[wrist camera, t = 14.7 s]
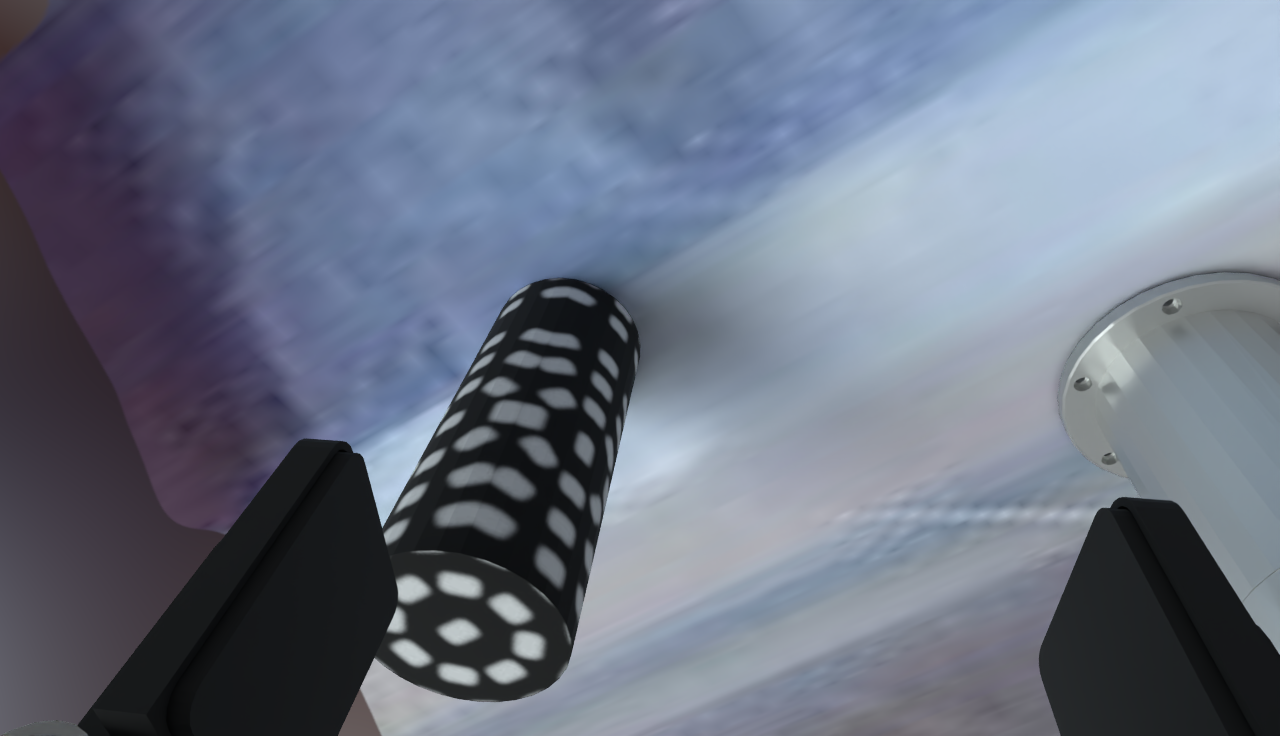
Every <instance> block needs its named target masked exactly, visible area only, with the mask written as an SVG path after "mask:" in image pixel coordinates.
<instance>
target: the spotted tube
mask: <svg viewBox="0 0 1280 736" xmlns="http://www.w3.org/2000/svg"><path fill="white" fill-rule="evenodd" d="M639 358H640V341H639V335H638V331H637V329H636V327H635V324H634V322H633V320H632V318H631V317H630V315H629V314H628V312H627V311H626V309H625V308H624V307H623V306H622V305H621V304H620V303H619V302H618V301H617V300H616V299H615V298H613V297H612V296H611V295H609V294H608V293H606V292H605V291H603V290H602V289H600V288H597V287H595V286H593V285H591V284H589V283H585V282H581V281H578V280H573V279H563V278H557V279H545V280H542V281H538V282H535V283H531V284H530V285H528V286H526V287H524V288H522V289H520V290H519V291H518V292H517V293H515V294H514V295H513V296H512V297H511V298H510V299H509V300H508V302H507V303H506V304H505V306H504V307H503V309H502V310H501V312H500V314H499V316H498V318H497V320H496V321H495V323H494V325H493V327H492V329H491V331H490V332H489V334H488V336H487V338H486V340H485V342H484V343H483V345H482V347H481V349H480V351H479V352H478V354H477V356H476V358H475V360H474V362H473V363H472V365H471V367H470V369H469V371H468V373H467V374H466V376H465V378H464V380H463V382H462V384H461V385H460V387H459V389H458V391H457V393H456V395H455V396H454V398H453V400H452V402H451V404H450V406H449V407H448V409H447V411H446V413H445V415H444V417H443V418H442V420H441V422H440V424H439V426H438V427H437V429H436V431H435V433H434V435H433V437H432V438H431V440H430V442H429V444H428V446H427V448H426V449H425V451H424V453H423V455H422V457H421V459H420V460H419V462H418V464H417V466H416V468H415V470H414V471H413V473H412V475H411V477H410V479H409V481H408V482H407V484H406V486H405V488H404V490H403V492H402V493H401V495H400V497H399V499H398V501H397V502H396V504H395V506H394V508H393V510H392V512H391V513H390V515H389V517H388V519H387V521H386V523H385V524H384V526H383V528H382V530H383V534H384V537H385V541H386V545H387V549H388V553H389V556H390V560H391V564H392V568H393V572H394V575H395V579H396V583H397V587H398V603H397V608H396V612H395V614H394V617H393V619H392V621H391V623H390V625H389V627H388V630H387V632H386V634H385V636H384V638H383V640H382V642H381V644H380V647H379V649H378V651H377V653H376V655H375V657H374V658H375V659H377V660H378V661H379V662H380V663H381V664H382V665H383V666H385V667H386V668H388V669H389V670H391V671H392V672H393V673H395V674H396V675H398V676H399V677H401V678H403V679H405V680H407V681H409V682H411V683H413V684H415V685H417V686H419V687H421V688H424V689H427V690H429V691H432V692H435V693H437V694H441V695H445V696H449V697H453V698H457V699H463V700H470V701H477V702H502V701H510V700H517V699H521V698H525V697H528V696H532V695H535V694H537V693H539V692H541V691H543V690H545V689H547V688H548V687H550V686H551V685H552V684H553V683H554V682H556V681H557V680H558V679H559V678H560V677H561V675H562V674H563V673H564V671H565V670H566V668H567V666H568V663H569V660H570V657H571V653H572V649H573V645H574V640H575V636H576V632H577V627H578V623H579V619H580V614H581V610H582V606H583V601H584V597H585V593H586V588H587V584H588V580H589V575H590V571H591V566H592V562H593V558H594V553H595V549H596V545H597V540H598V536H599V532H600V527H601V523H602V519H603V514H604V510H605V506H606V501H607V497H608V493H609V488H610V484H611V479H612V475H613V471H614V466H615V462H616V458H617V453H618V449H619V445H620V440H621V436H622V432H623V427H624V423H625V419H626V414H627V410H628V405H629V401H630V397H631V392H632V388H633V384H634V379H635V375H636V371H637V366H638V362H639Z"/></svg>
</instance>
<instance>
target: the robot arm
mask: <svg viewBox="0 0 1280 736" xmlns="http://www.w3.org/2000/svg"><path fill="white" fill-rule="evenodd" d="M1057 399H1058V409H1059V415H1060V418H1061V421H1062V423H1063V426H1064V428H1065V431H1066V432H1067V434H1068V436H1069V437H1070V439H1071V441H1072V443H1073V444H1074V446H1075V447H1076V448H1077V449H1078V450H1079V451H1080V452H1081V453H1082V455H1083V456H1084V457H1085V458H1086V459H1088V460H1089V461H1090V462H1092V463H1093V464H1095V465H1096V466H1098V467H1099V468H1101V469H1103V470H1106V471H1108V472H1111V473H1113V474H1116V475H1118V476H1120V477H1125V478H1129V479H1130V481H1131V483H1132V484H1133V486H1134V488H1135V490H1136V491H1137V493H1138V495H1139V496H1140V498H1129V497H1121V498H1118V499H1117V500H1115V501H1114V502H1113V504H1112V506H1111V508H1101V509H1100V510H1099V511H1098V512H1097V514H1096V515H1095V518H1094V520H1093V522H1092V525H1091V527H1090V530H1089V532H1088V534H1087V537H1086V539H1085V542H1084V544H1083V546H1082V549H1081V551H1080V554H1079V556H1078V559H1077V561H1076V563H1075V566H1074V568H1073V571H1072V573H1071V575H1070V578H1069V580H1068V583H1067V585H1066V587H1065V590H1064V592H1063V595H1062V597H1061V600H1060V602H1059V604H1058V607H1057V609H1056V612H1055V614H1054V616H1053V619H1052V621H1051V624H1050V626H1049V628H1048V631H1047V633H1046V636H1045V638H1044V640H1043V643H1042V645H1041V649H1040V654H1039V668H1040V674H1041V678H1042V681H1043V684H1044V687H1045V690H1046V693H1047V696H1048V699H1049V702H1050V705H1051V708H1052V711H1053V714H1054V717H1055V720H1056V723H1057V725H1058V728H1059V731H1060V734H1061V736H1280V281H1279V280H1276V279H1274V278H1269V277H1264V276H1260V275H1255V274H1251V273H1229V272H1221V273H1212V274H1203V275H1195V276H1191V277H1187V278H1183V279H1179V280H1175V281H1172V282H1168V283H1165V284H1163V285H1160V286H1158V287H1155V288H1153V289H1150V290H1148V291H1146V292H1143V293H1141V294H1139V295H1137V296H1136V297H1134V298H1132V299H1130V300H1129V301H1127V302H1125V303H1123V304H1122V305H1120V306H1118V307H1117V308H1115V309H1114V310H1113V311H1112V312H1110V313H1109V314H1108V315H1106V316H1105V317H1104V318H1103V319H1101V320H1100V321H1099V322H1097V323H1096V324H1095V325H1094V326H1093V328H1092V329H1091V330H1090V331H1089V332H1088V333H1087V334H1086V335H1085V336H1084V337H1083V338H1082V339H1081V340H1080V342H1079V343H1078V345H1077V346H1076V348H1075V349H1074V351H1073V352H1072V354H1071V355H1070V357H1069V358H1068V360H1067V363H1066V365H1065V368H1064V370H1063V373H1062V375H1061V378H1060V382H1059V389H1058V395H1057ZM397 603H398V587H397V583H396V579H395V575H394V572H393V568H392V564H391V560H390V556H389V553H388V549H387V545H386V541H385V537H384V534H383V530H382V526H381V522H380V519H379V515H378V511H377V507H376V503H375V500H374V496H373V492H372V488H371V484H370V481H369V477H368V473H367V469H366V465H365V462H364V459H363V457H362V456H361V455H360V454H358V453H353V451H352V448H351V446H350V445H349V444H348V443H347V442H344V441H332V440H318V439H302V440H300V441H298V442H297V443H296V444H295V445H294V447H293V448H292V449H291V450H290V452H289V453H288V454H287V456H286V457H285V458H284V460H283V461H282V462H281V463H280V465H279V466H278V467H277V469H276V470H275V471H274V473H273V474H272V475H271V477H270V478H269V479H268V480H267V482H266V483H265V484H264V486H263V487H262V488H261V490H260V491H259V492H258V493H257V495H256V496H255V497H254V499H253V500H252V501H251V503H250V504H249V505H248V506H247V508H246V509H245V510H244V512H243V513H242V514H241V516H240V517H239V518H238V519H237V521H236V522H235V523H234V525H233V526H232V527H231V529H230V530H229V531H228V533H227V534H226V535H225V537H224V538H223V539H222V540H221V541H220V542H219V543H218V544H217V546H215V548H214V549H213V550H212V551H211V553H210V554H209V555H208V557H207V558H206V559H205V561H204V562H203V563H202V564H201V566H200V567H199V568H198V570H197V571H196V572H195V574H194V575H193V576H192V578H191V579H190V580H189V581H188V583H187V584H186V585H185V586H184V588H183V589H182V591H181V592H180V593H179V594H178V596H177V597H176V598H175V599H174V601H173V602H172V603H171V605H170V606H169V607H168V609H167V610H166V611H165V613H164V614H163V615H162V616H161V618H160V619H159V620H158V622H157V623H156V624H155V625H154V627H153V628H152V630H151V631H150V632H149V633H148V635H147V636H146V637H145V638H144V640H143V641H142V642H141V644H140V645H139V646H138V648H137V649H136V650H135V651H134V653H133V654H132V655H131V657H130V658H129V659H128V661H127V662H126V663H125V665H124V666H123V667H122V668H121V670H120V671H119V672H118V674H117V675H116V676H115V678H114V679H113V680H112V681H111V683H110V684H109V685H108V687H107V688H106V689H105V690H104V692H103V693H102V694H101V696H100V697H99V698H98V699H97V701H96V702H95V703H94V705H93V706H92V707H91V709H90V710H89V711H88V712H87V714H86V715H85V716H84V718H83V719H82V720H81V722H80V723H79V724H78V725H75V724H72V723H67V722H63V721H58V720H56V721H45V722H35V723H32V724H29V725H26V726H23V727H20V728H17V729H14V730H11V731H8V732H7V733H5V734H3V735H1V736H338V734H339V731H340V729H341V727H342V725H343V723H344V721H345V719H346V717H347V715H348V712H349V710H350V708H351V706H352V704H353V702H354V700H355V697H356V695H357V693H358V691H359V689H360V687H361V685H362V683H363V681H364V678H365V676H366V674H367V672H368V670H369V668H370V666H371V664H372V661H373V659H374V657H375V655H376V653H377V651H378V649H379V647H380V644H381V642H382V640H383V638H384V636H385V634H386V632H387V630H388V627H389V625H390V623H391V621H392V619H393V617H394V614H395V612H396V608H397Z"/></svg>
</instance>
